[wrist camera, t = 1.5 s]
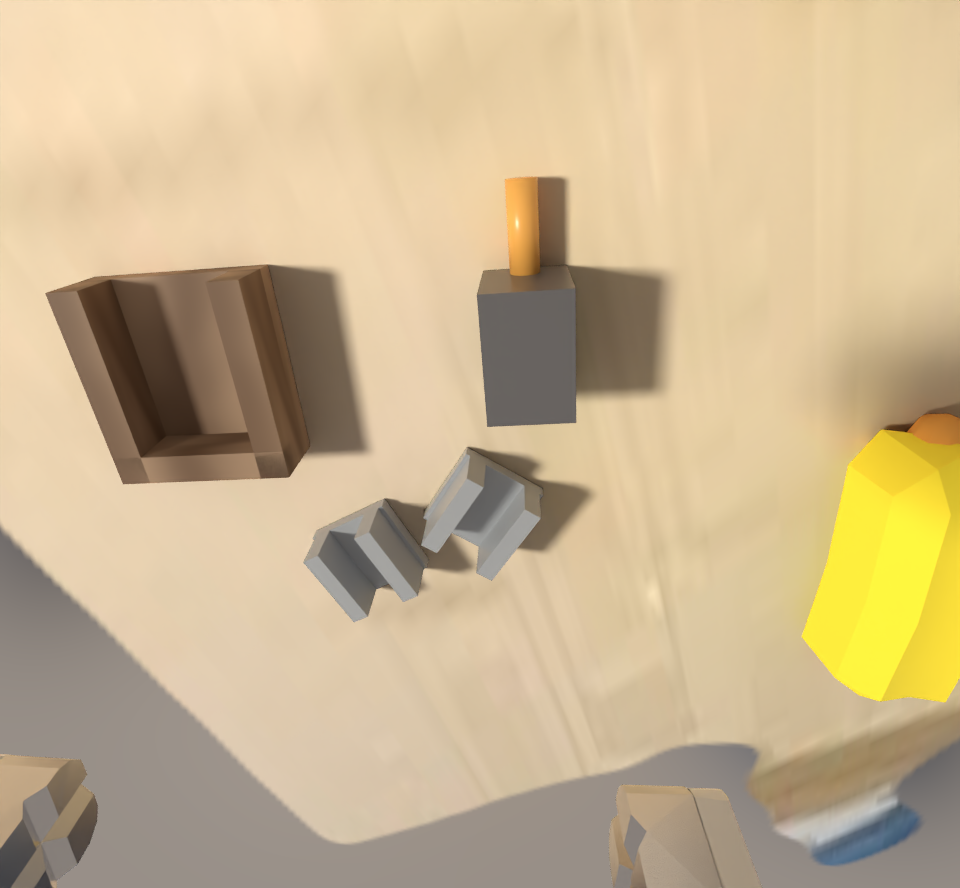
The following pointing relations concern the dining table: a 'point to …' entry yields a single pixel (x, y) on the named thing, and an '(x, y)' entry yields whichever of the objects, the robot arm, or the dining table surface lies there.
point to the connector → (527, 325)
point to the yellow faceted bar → (895, 568)
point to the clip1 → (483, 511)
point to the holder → (186, 373)
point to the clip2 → (366, 558)
